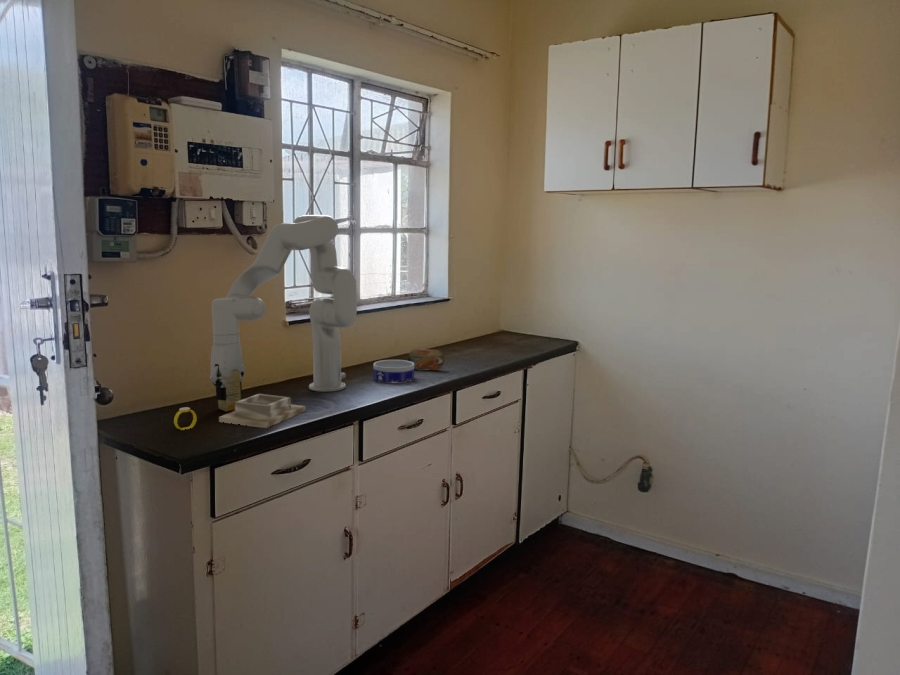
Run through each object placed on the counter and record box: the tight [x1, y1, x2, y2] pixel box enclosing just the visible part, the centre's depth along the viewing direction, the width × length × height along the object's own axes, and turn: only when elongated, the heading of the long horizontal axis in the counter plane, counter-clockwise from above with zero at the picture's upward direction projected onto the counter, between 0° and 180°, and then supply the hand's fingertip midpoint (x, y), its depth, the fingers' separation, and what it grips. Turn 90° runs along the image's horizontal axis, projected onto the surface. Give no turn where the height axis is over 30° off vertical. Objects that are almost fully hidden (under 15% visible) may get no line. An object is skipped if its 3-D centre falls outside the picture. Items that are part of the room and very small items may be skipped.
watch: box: [173, 406, 198, 431], centre depth 187 cm, size 6×3×6 cm, turn 139°
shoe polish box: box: [217, 370, 242, 412], centre depth 207 cm, size 5×5×12 cm
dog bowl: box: [372, 359, 415, 383], centre depth 254 cm, size 15×15×6 cm
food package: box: [406, 348, 446, 371], centre depth 271 cm, size 15×3×8 cm, turn 76°
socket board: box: [218, 393, 306, 429], centre depth 201 cm, size 20×16×5 cm
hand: (229, 396), depth 208 cm, fingers closed on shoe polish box, 6 cm apart
